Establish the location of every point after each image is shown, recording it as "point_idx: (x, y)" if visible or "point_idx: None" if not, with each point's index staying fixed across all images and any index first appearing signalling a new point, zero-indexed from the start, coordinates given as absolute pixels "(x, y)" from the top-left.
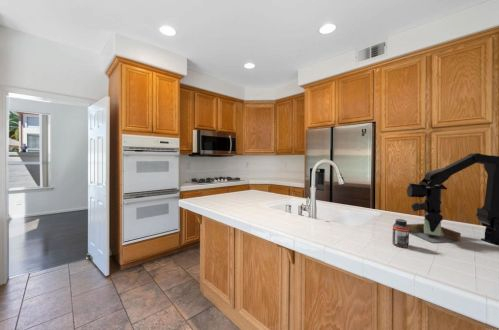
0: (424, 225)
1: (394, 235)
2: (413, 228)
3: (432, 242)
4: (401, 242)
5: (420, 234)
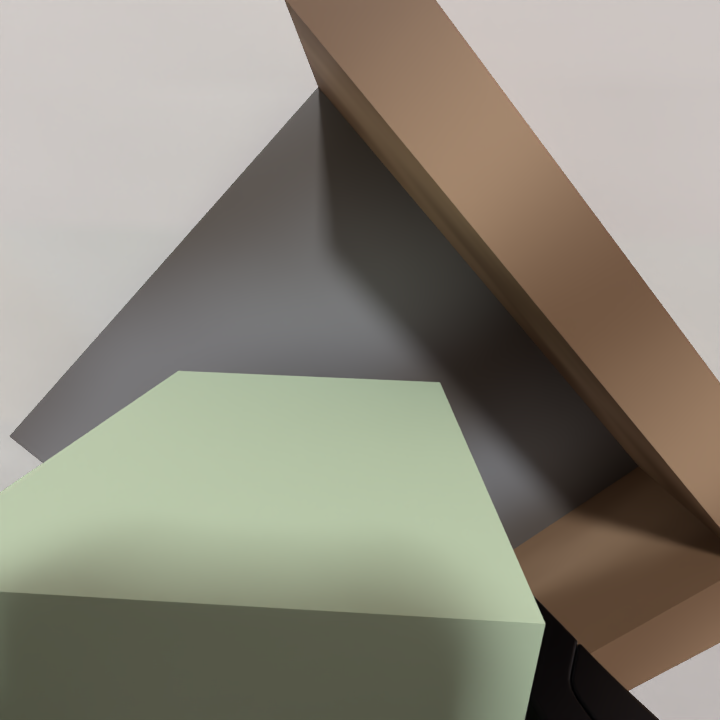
0: (56, 457)
1: None
2: (413, 181)
3: (13, 436)
4: None
5: (305, 307)
